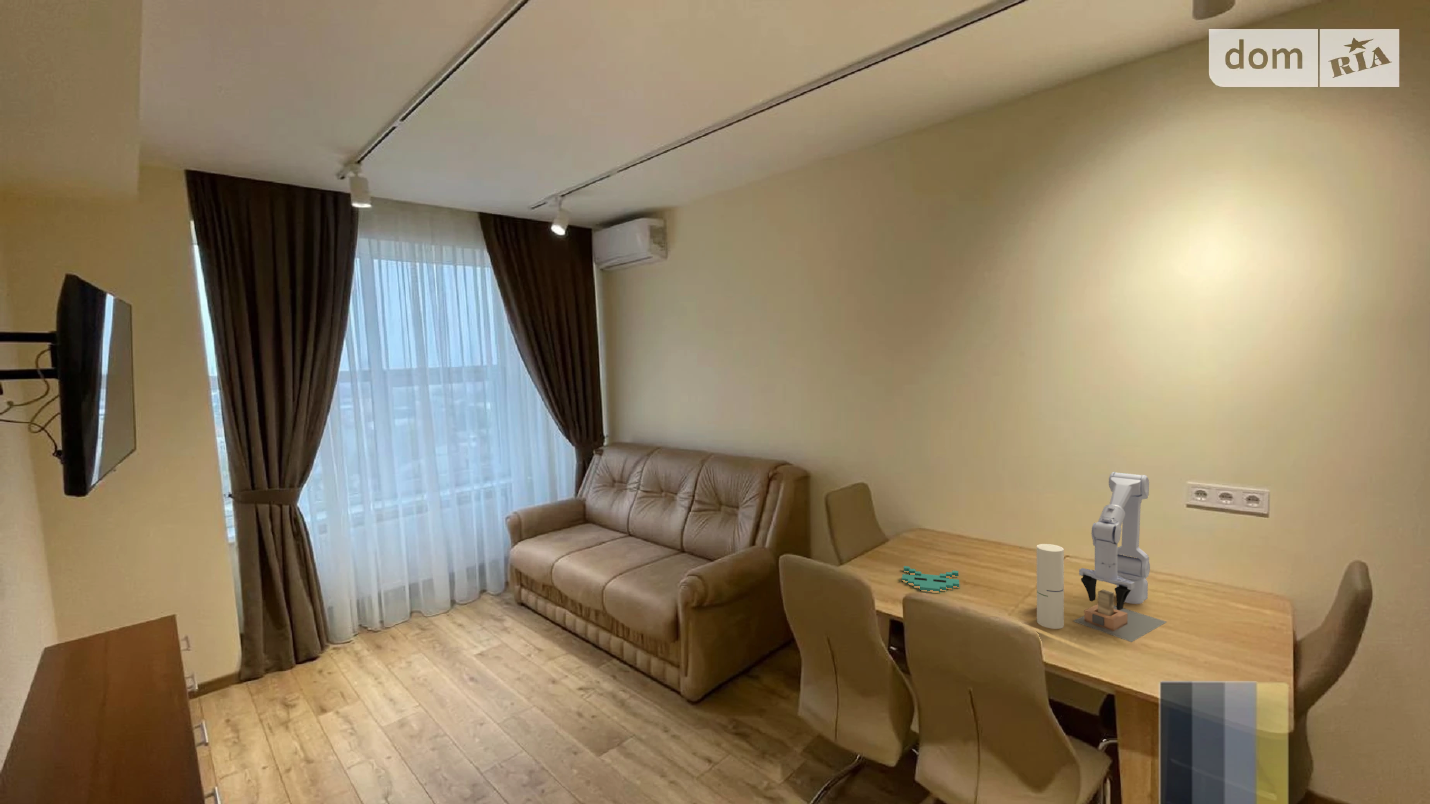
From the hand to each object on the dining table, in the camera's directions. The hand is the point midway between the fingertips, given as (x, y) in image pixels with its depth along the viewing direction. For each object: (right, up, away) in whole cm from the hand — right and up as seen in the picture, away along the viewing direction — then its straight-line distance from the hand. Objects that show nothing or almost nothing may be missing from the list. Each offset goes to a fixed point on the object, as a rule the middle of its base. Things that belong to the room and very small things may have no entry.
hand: (1105, 604), depth 172 cm
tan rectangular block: (0, -5, 0) cm, 5 cm away
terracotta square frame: (0, -6, 0) cm, 6 cm away
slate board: (+5, -6, +1) cm, 8 cm away
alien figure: (-39, -6, +39) cm, 56 cm away
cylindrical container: (-16, -7, +1) cm, 18 cm away
